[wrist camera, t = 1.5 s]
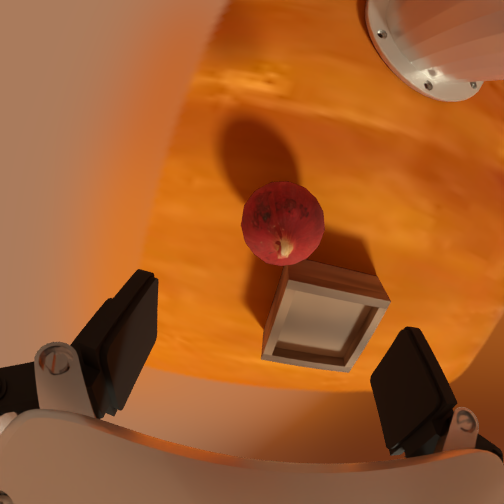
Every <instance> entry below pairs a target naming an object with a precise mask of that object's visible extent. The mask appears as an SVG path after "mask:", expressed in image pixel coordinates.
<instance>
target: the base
mask: <svg viewBox="0 0 504 504" xmlns="http://www.w3.org/2000/svg"><path fill="white" fill-rule="evenodd" d="M390 302H391V301H390V299H389V297H388V295H387V293H386V291H385V290H384V288H383V286H382V284H381V282H380V280H379V279H378V277H377V276H374V275H370V274H365V273H361V272H357V271H353V270H349V269H344V268H340V267H336V266H332V265H328V264H323V263H319V262H315V261H311V260H307V259H304V260H302V261H300V262H298V263H296V264H292V265H284V268H283V271H282V274H281V278H280V281H279V284H278V287H277V290H276V294H275V297H274V300H273V303H272V306H271V309H270V312H269V316H268V319H267V322H266V325H265V328H264V332H263V344H262V355H261V359H262V360H268V361H273V362H278V363H284V364H290V365H296V366H302V367H309V368H316V369H323V370H331V371H339V372H348V373H349V371H350V370H351V368H352V367H353V365H354V364H355V362H356V361H357V359H358V358H359V356H360V354H361V353H362V351H363V350H364V348H365V346H366V345H367V343H368V341H369V340H370V338H371V336H372V335H373V333H374V331H375V330H376V328H377V326H378V324H379V323H380V321H381V319H382V317H383V315H384V314H385V312H386V310H387V308H388V306H389V304H390Z"/></svg>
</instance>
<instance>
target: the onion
mask: <svg viewBox="0 0 504 504" xmlns="http://www.w3.org/2000/svg"><path fill="white" fill-rule="evenodd" d="M241 227H242V231H243V235H244V240H245V242H246V244H247V245H248V247H249V248H250V249H251V251H252V252H253V253H254V254H255V255H256V256H257V257H259V258H260V259H261V260H263V261H264V262H266V263H269V264H274V265H279V266H284V265H292V264H296V263H298V262H300V261H302V260H304V259H306V258H308V257H309V256H310V255H311V254H312V253H313V251H314V250H315V249H316V248H317V247H318V246H319V244H320V241H321V238H322V236H323V233H324V230H325V227H324V215H323V210H322V208H321V206H320V205H319V203H318V201H317V199H316V198H315V197H314V196H313V195H312V194H311V193H310V192H309V191H308V190H307V189H306V188H304V187H302V186H299V185H297V184H294V183H291V182H289V181H285V182H271V183H269V184H267V185H265V186H263V187H261V188H259V189H258V190H256V191H255V192H254V193H253V194H252V195H251V197H250V198H249V200H248V201H247V202H246V204H245V205H244V210H243V216H242V222H241Z"/></svg>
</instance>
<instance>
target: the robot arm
mask: <svg viewBox="0 0 504 504" xmlns="http://www.w3.org/2000/svg"><path fill="white" fill-rule="evenodd" d="M365 19H366V25H367V29H368V33H369V35H370V38H371V40H372V42H373V44H374V47H375V48H376V50H377V51H378V53H379V55H380V56H381V58H382V59H383V61H384V62H385V63H386V64H387V65H388V67H389V68H390V69H391V70H392V71H393V72H394V73H395V74H396V75H397V76H398V77H399V78H400V79H401V80H402V81H403V82H404V83H406V84H407V85H408V86H410V87H411V88H412V89H414V90H415V91H417V92H419V93H421V94H423V95H424V96H427V97H430V98H432V99H435V100H440V101H446V102H450V101H461V100H466V99H468V98H470V97H472V96H473V95H474V94H476V93H477V92H478V91H479V89H480V87H481V86H482V84H483V82H484V81H490V80H504V0H367V2H366V8H365ZM378 35H380V36H381V38H380V37H379V36H378ZM424 85H425V86H426V88H425V86H424ZM157 305H158V279H157V278H154V274H153V273H151V272H148V271H144V270H140V269H138V270H137V271H136V272H135V273H134V274H133V275H132V276H131V278H130V279H129V280H128V281H127V282H126V284H125V285H124V286H123V287H122V288H121V290H120V291H119V292H118V293H117V294H116V295H115V297H114V298H113V299H112V298H109V299H108V300H106V301H105V302H104V304H103V305H102V306H101V307H100V308H99V310H98V311H97V312H96V313H95V315H94V316H93V317H92V318H91V320H90V321H89V322H88V323H87V324H86V326H85V327H84V328H83V329H82V331H81V332H80V333H79V335H78V336H77V337H76V338H75V340H74V341H73V342H72V344H71V345H68V344H67V343H63V342H51V343H48V344H46V345H44V346H42V347H41V348H40V349H39V350H38V351H37V353H36V355H35V360H34V362H30V363H25V364H20V365H15V366H9V367H3V368H0V504H504V464H503V454H502V451H501V450H500V449H499V448H498V447H496V446H495V445H494V444H492V443H491V442H489V441H488V440H486V439H485V438H484V437H482V436H481V435H479V434H478V420H477V418H476V416H475V415H474V414H473V412H471V411H470V410H469V409H467V408H464V407H460V408H457V409H456V410H455V411H454V412H453V409H452V408H453V407H454V406H455V405H456V404H457V401H456V399H455V396H454V394H453V392H452V390H451V388H450V386H449V383H448V381H447V379H446V377H445V375H444V373H443V371H442V369H441V367H440V365H439V363H438V361H437V359H436V357H435V355H434V354H433V352H432V350H431V348H430V346H429V344H428V342H427V341H426V339H425V337H424V335H423V333H422V332H421V330H420V329H419V328H415V327H405V328H404V329H403V330H401V331H400V332H399V334H398V335H397V337H396V339H395V340H394V342H393V343H392V345H391V347H390V348H389V350H388V351H387V353H386V354H385V356H384V357H383V359H382V360H381V362H380V363H379V365H378V366H377V368H376V369H375V371H374V372H373V373H372V375H371V379H370V383H371V386H372V390H373V394H374V398H375V401H376V405H377V409H378V413H379V417H380V421H381V426H382V430H383V434H384V439H385V443H386V447H387V448H388V449H389V451H390V455H399V454H402V453H403V452H405V457H404V459H397V460H389V461H378V462H366V463H346V464H309V463H290V462H277V461H267V460H258V459H251V458H243V457H237V456H231V455H225V454H220V453H214V452H210V451H205V450H200V449H196V448H192V447H188V446H184V445H180V444H176V443H172V442H169V441H165V440H161V439H158V438H155V437H151V436H148V435H145V434H141V433H139V432H136V431H133V430H130V429H127V428H124V427H120V426H118V425H114V424H112V423H109V422H106V421H103V420H100V419H101V418H103V417H104V415H105V413H107V414H110V415H112V416H115V414H116V412H117V409H118V410H122V409H123V408H124V406H125V403H126V401H127V399H128V397H129V395H130V393H131V390H132V389H133V386H134V384H135V382H136V380H137V378H138V376H139V374H140V372H141V370H142V368H143V366H144V364H145V362H146V360H147V358H148V356H149V354H150V352H151V349H152V347H153V345H154V344H155V341H156V338H157Z"/></svg>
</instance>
